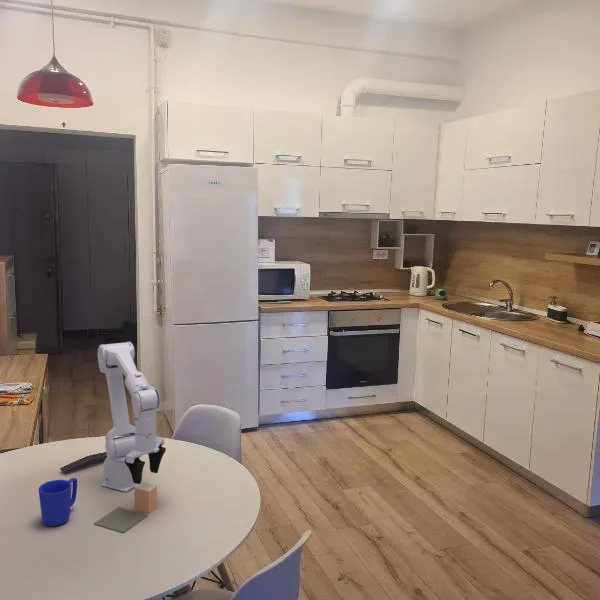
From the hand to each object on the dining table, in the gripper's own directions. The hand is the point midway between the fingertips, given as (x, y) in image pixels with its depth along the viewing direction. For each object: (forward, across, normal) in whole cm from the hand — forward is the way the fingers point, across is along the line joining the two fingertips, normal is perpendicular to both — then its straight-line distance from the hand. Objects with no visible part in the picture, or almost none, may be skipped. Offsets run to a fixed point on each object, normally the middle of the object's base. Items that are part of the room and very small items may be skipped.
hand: (145, 477), depth 165 cm
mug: (+10, -14, +17) cm, 24 cm away
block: (+9, 0, 0) cm, 9 cm away
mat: (+9, -8, +2) cm, 13 cm away
